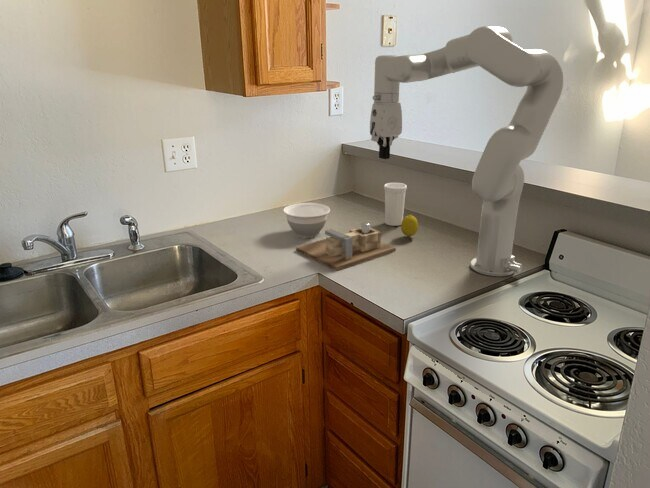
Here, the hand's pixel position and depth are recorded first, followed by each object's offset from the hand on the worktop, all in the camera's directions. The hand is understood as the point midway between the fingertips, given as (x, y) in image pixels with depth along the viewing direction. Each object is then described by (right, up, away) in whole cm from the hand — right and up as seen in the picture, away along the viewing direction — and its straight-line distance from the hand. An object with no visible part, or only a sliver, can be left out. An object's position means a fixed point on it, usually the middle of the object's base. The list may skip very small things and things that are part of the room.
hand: (384, 158), depth 169 cm
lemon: (+9, -25, +11) cm, 29 cm away
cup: (+6, -20, +24) cm, 32 cm away
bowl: (-25, -23, +15) cm, 37 cm away
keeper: (-15, -30, -6) cm, 34 cm away
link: (-10, -29, -2) cm, 31 cm away
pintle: (-6, -27, +1) cm, 28 cm away
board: (-12, -29, -1) cm, 32 cm away
